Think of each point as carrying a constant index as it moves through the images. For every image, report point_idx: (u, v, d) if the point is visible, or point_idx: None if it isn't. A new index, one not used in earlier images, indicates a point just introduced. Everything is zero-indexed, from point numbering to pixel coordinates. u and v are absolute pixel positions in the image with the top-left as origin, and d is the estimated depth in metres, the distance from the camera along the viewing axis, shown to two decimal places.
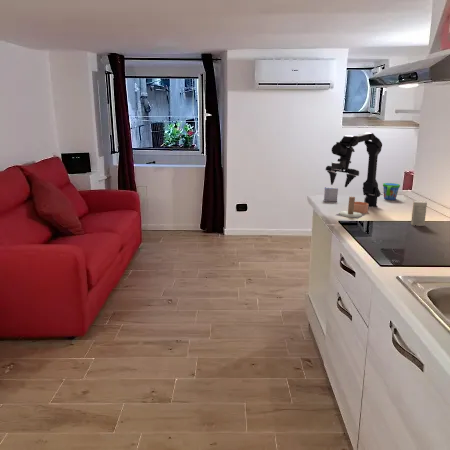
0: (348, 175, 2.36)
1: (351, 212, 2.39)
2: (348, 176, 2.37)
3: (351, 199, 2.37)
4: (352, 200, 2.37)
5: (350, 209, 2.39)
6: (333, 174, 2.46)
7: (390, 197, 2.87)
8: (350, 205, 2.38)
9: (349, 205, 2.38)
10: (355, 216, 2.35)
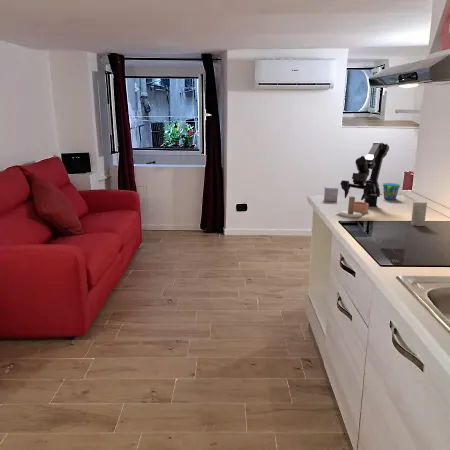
0: (367, 188, 2.37)
1: (351, 212, 2.39)
2: (367, 189, 2.37)
3: (351, 199, 2.37)
4: (352, 200, 2.37)
5: (350, 209, 2.39)
6: (347, 189, 2.45)
7: (390, 197, 2.87)
8: (350, 205, 2.38)
9: (349, 205, 2.38)
10: (355, 216, 2.35)
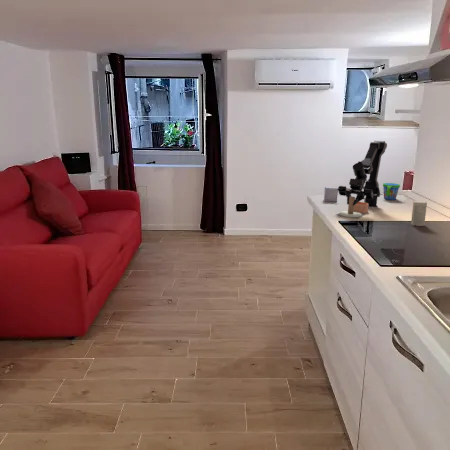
0: (359, 193, 2.37)
1: (351, 212, 2.39)
2: (359, 194, 2.37)
3: (351, 199, 2.37)
4: (352, 200, 2.37)
5: (350, 209, 2.39)
6: (350, 195, 2.41)
7: (390, 197, 2.87)
8: (350, 205, 2.38)
9: (349, 205, 2.38)
10: (355, 216, 2.35)
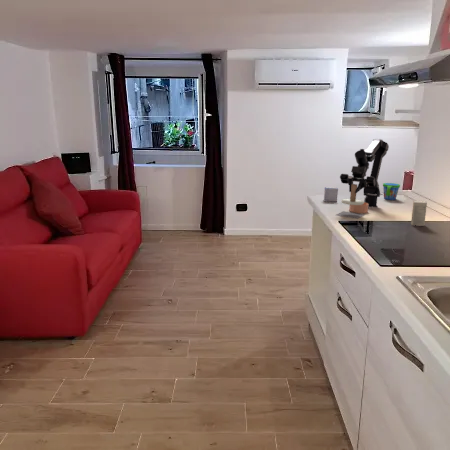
0: (361, 181, 2.36)
1: (353, 200, 2.39)
2: (361, 182, 2.37)
3: (353, 187, 2.37)
4: (354, 188, 2.37)
5: (352, 197, 2.38)
6: (352, 183, 2.41)
7: (390, 197, 2.87)
8: (352, 193, 2.38)
9: (351, 193, 2.38)
10: (357, 204, 2.34)
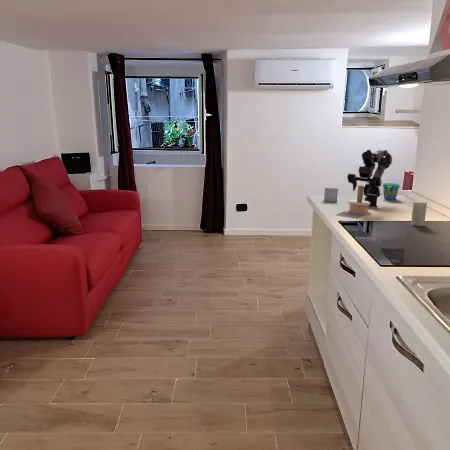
0: (371, 181, 2.45)
1: (360, 200, 2.48)
2: (371, 182, 2.45)
3: (360, 188, 2.46)
4: (361, 189, 2.46)
5: (359, 198, 2.48)
6: (355, 182, 2.51)
7: (390, 197, 2.87)
8: (359, 194, 2.47)
9: (358, 194, 2.48)
10: (364, 204, 2.44)
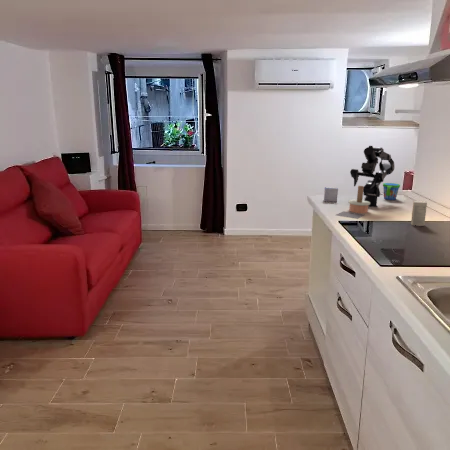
0: (376, 177, 2.49)
1: (360, 200, 2.48)
2: (375, 178, 2.49)
3: (360, 188, 2.46)
4: (361, 189, 2.46)
5: (359, 198, 2.48)
6: (357, 177, 2.57)
7: (390, 197, 2.87)
8: (359, 194, 2.47)
9: (358, 194, 2.48)
10: (364, 204, 2.44)
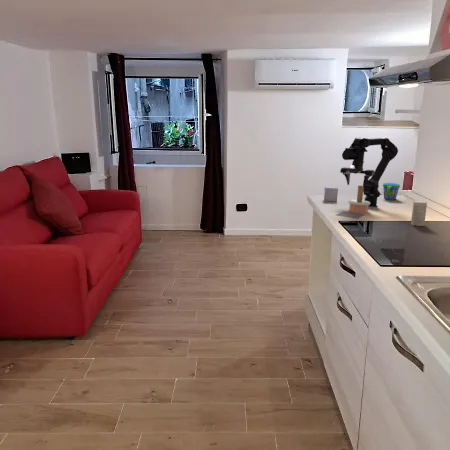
0: (366, 177, 2.52)
1: (360, 200, 2.48)
2: (366, 177, 2.53)
3: (360, 188, 2.46)
4: (361, 189, 2.46)
5: (359, 198, 2.48)
6: (348, 175, 2.61)
7: (390, 197, 2.87)
8: (359, 194, 2.47)
9: (358, 194, 2.48)
10: (364, 204, 2.44)
